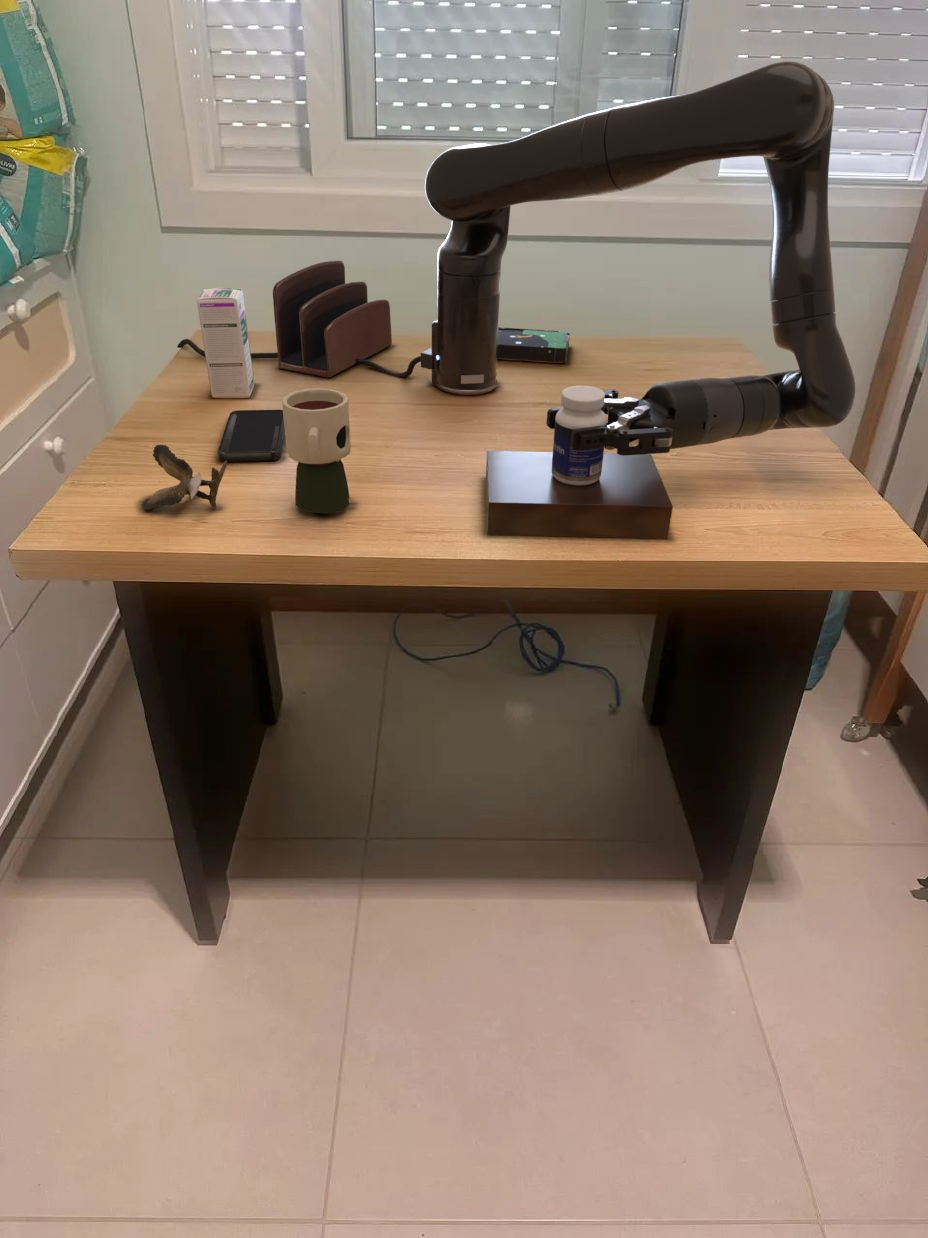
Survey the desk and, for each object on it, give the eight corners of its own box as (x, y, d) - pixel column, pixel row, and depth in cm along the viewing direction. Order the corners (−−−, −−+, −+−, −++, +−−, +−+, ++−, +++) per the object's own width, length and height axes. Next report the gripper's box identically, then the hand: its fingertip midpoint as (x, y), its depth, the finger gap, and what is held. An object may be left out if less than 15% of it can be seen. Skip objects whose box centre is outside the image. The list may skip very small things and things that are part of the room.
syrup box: (250, 398, 131) (238, 297, 123) (210, 398, 131) (195, 297, 123) (255, 385, 136) (244, 287, 128) (216, 385, 136) (202, 287, 128)
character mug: (352, 529, 98) (345, 417, 91) (287, 530, 98) (275, 417, 91) (356, 486, 107) (350, 381, 100) (296, 486, 107) (286, 381, 100)
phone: (216, 453, 112) (231, 410, 124) (218, 462, 112) (232, 417, 124) (280, 452, 112) (287, 409, 125) (281, 460, 113) (288, 416, 125)
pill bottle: (547, 466, 104) (553, 383, 98) (595, 465, 104) (603, 382, 99) (555, 487, 99) (562, 402, 93) (605, 486, 99) (615, 401, 94)
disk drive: (478, 360, 149) (567, 364, 147) (479, 343, 147) (568, 347, 146) (485, 341, 157) (569, 345, 156) (485, 325, 156) (570, 329, 154)
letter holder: (277, 369, 142) (268, 277, 135) (344, 337, 157) (339, 253, 149) (330, 379, 139) (323, 286, 131) (393, 345, 154) (390, 260, 146)
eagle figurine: (232, 478, 106) (158, 461, 105) (224, 446, 99) (145, 427, 99) (212, 534, 103) (136, 516, 103) (203, 504, 96) (121, 484, 96)
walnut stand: (487, 534, 98) (488, 502, 96) (485, 480, 110) (486, 450, 107) (667, 538, 98) (673, 506, 96) (646, 484, 110) (651, 453, 107)
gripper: (664, 361, 106) (535, 375, 101) (734, 402, 95) (592, 420, 90) (656, 421, 110) (531, 437, 105) (721, 467, 99) (585, 487, 94)
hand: (560, 429), depth 97 cm, fingers closed on pill bottle, 5 cm apart
